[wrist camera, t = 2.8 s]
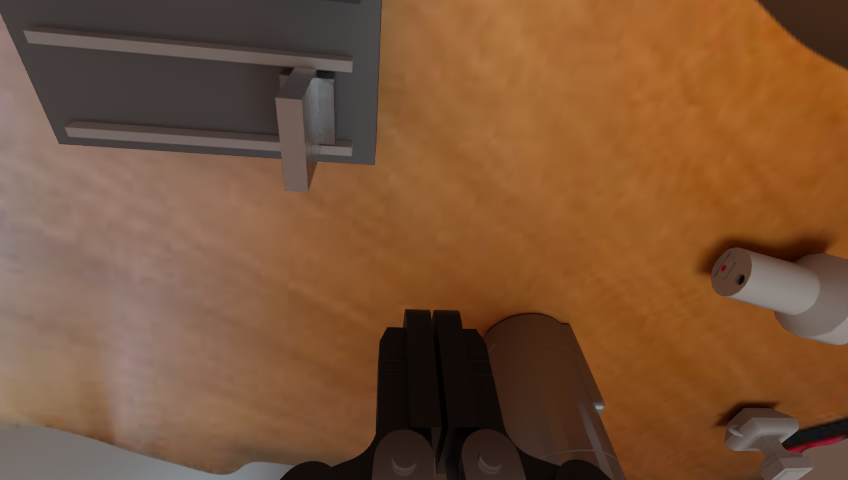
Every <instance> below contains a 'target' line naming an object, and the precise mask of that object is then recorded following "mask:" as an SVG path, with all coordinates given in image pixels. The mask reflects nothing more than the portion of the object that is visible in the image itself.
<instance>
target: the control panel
mask: <svg viewBox="0 0 848 480" xmlns="http://www.w3.org/2000/svg"><path fill="white" fill-rule="evenodd" d="M381 7H382V0H0V13H1V15H2V17H3V20H4V22H5V24H6V26H7V29H8V31H9V33H10V35H11V38H12V40H13V42H14V44H15V46H16V49H17V51H18V53H19V55H20V58H21V60H22V62H23V64H24V66H25V69H26V71H27V73H28V75H29V78H30V80H31V82H32V84H33V87H34V89H35V91H36V93H37V95H38V98H39V100H40V102H41V104H42V107H43V109H44V111H45V113H46V116H47V118H48V120H49V122H50V124H51V127H52V129H53V131H54V133H55V136H56V138H57V140H58V142H59V144H68V145H83V146H98V147H113V148H128V149H143V150H158V151H172V152H187V153H202V154H217V155H232V156H247V157H262V158H277V159H282V156H281V147H280V137H279V128H278V119H277V110H276V100H275V97H276V96H277V94H278V93H279V91H280V89H281V88H280V78H279V75H280V73H281V72H282V70H283V69H291V70H293V69H294V68H295V67H298V68H309V69H317V72H324V73H335V74H336V116H337V139H336V143H335V145H330V144H320V148H321V152H320V155H319V158H318V161H322V162H336V163H351V164H366V165H375V153H376V132H377V107H378V82H379V57H380V32H381Z"/></svg>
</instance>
